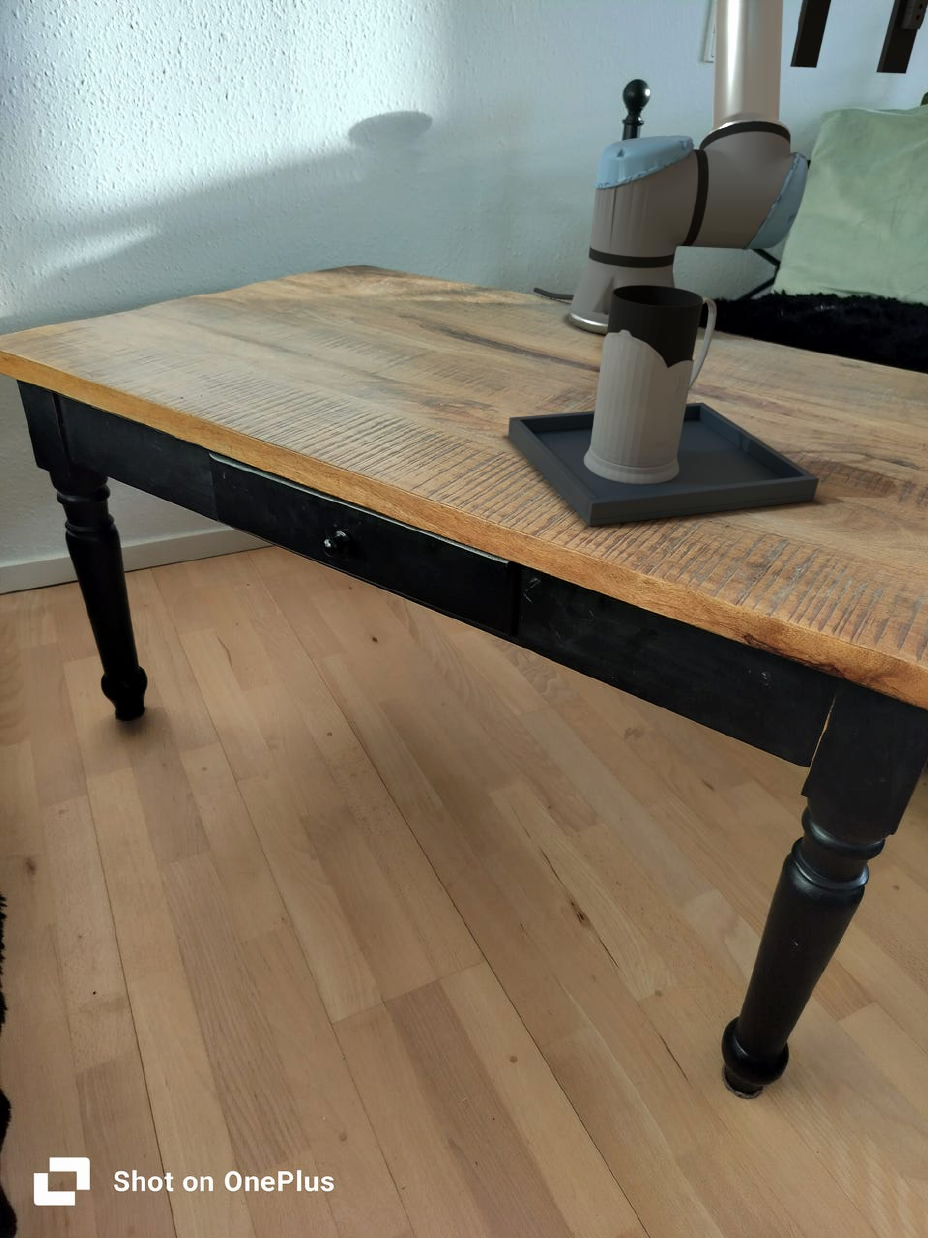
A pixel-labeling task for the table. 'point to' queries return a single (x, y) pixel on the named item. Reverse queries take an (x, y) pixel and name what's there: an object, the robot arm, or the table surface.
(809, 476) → the tray
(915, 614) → the table surface
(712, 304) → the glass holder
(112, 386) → the table surface
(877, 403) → the table surface
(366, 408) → the table surface
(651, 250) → the robot arm
